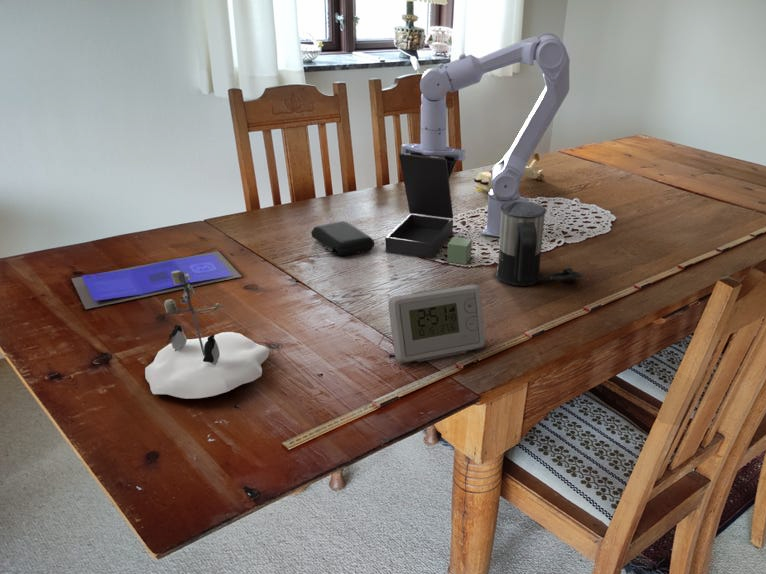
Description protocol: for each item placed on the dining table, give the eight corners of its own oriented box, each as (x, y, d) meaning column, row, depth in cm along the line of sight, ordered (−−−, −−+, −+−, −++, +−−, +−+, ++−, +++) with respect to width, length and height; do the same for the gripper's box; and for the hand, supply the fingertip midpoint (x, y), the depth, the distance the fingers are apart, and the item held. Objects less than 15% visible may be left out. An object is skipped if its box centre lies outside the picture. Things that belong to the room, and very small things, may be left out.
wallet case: (431, 258, 148) (431, 244, 147) (385, 252, 150) (385, 237, 149) (452, 233, 162) (452, 219, 160) (410, 227, 164) (409, 213, 162)
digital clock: (392, 367, 110) (391, 309, 105) (386, 340, 118) (384, 283, 112) (490, 359, 114) (494, 302, 108) (478, 333, 121) (481, 278, 116)
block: (471, 257, 150) (471, 239, 148) (466, 264, 147) (466, 246, 145) (452, 254, 151) (453, 236, 149) (447, 261, 148) (447, 243, 145)
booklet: (233, 275, 136) (232, 272, 136) (94, 304, 124) (93, 301, 123) (213, 254, 145) (213, 251, 144) (82, 278, 132) (81, 275, 132)
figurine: (290, 377, 105) (272, 277, 97) (164, 416, 95) (134, 309, 88) (246, 333, 119) (228, 243, 112) (134, 364, 110) (106, 267, 103)
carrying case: (304, 238, 155) (334, 261, 145) (302, 225, 153) (333, 247, 143) (346, 229, 160) (378, 251, 151) (345, 217, 159) (378, 238, 149)
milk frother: (488, 270, 144) (492, 202, 137) (554, 261, 150) (561, 195, 142) (518, 300, 134) (524, 227, 126) (587, 289, 139) (597, 219, 131)
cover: (445, 160, 146) (451, 146, 149) (398, 154, 148) (405, 141, 151) (452, 218, 160) (458, 205, 162) (409, 213, 162) (415, 199, 164)
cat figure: (523, 177, 206) (463, 186, 190) (527, 148, 202) (466, 154, 186) (548, 186, 201) (489, 195, 184) (552, 155, 196) (492, 162, 180)
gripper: (396, 128, 150) (397, 189, 157) (460, 135, 147) (458, 197, 154) (407, 121, 155) (407, 180, 163) (468, 128, 153) (466, 187, 160)
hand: (432, 188), depth 159 cm, fingers closed on cover, 5 cm apart
